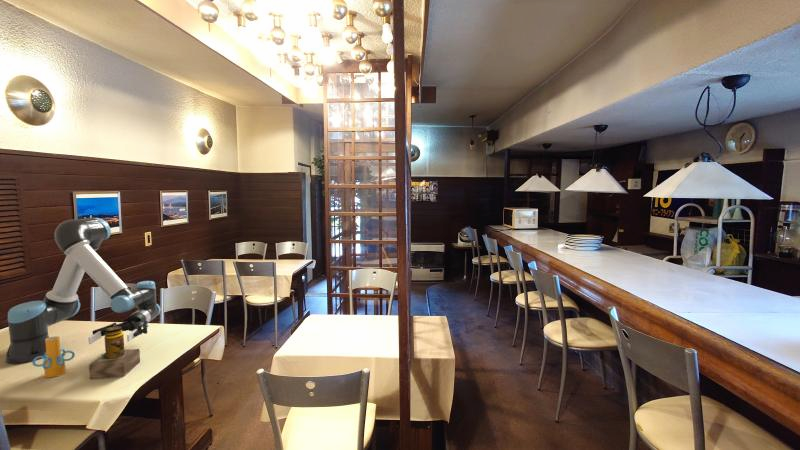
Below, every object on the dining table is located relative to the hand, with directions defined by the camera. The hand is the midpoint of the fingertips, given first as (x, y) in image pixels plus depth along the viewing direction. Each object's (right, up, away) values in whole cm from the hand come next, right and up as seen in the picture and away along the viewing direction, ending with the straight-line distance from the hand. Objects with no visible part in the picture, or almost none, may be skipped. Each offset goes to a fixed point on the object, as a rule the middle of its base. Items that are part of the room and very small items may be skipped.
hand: (109, 339), depth 141 cm
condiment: (-2, -8, +4) cm, 9 cm away
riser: (-1, -14, +5) cm, 15 cm away
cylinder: (-23, -14, +1) cm, 27 cm away
